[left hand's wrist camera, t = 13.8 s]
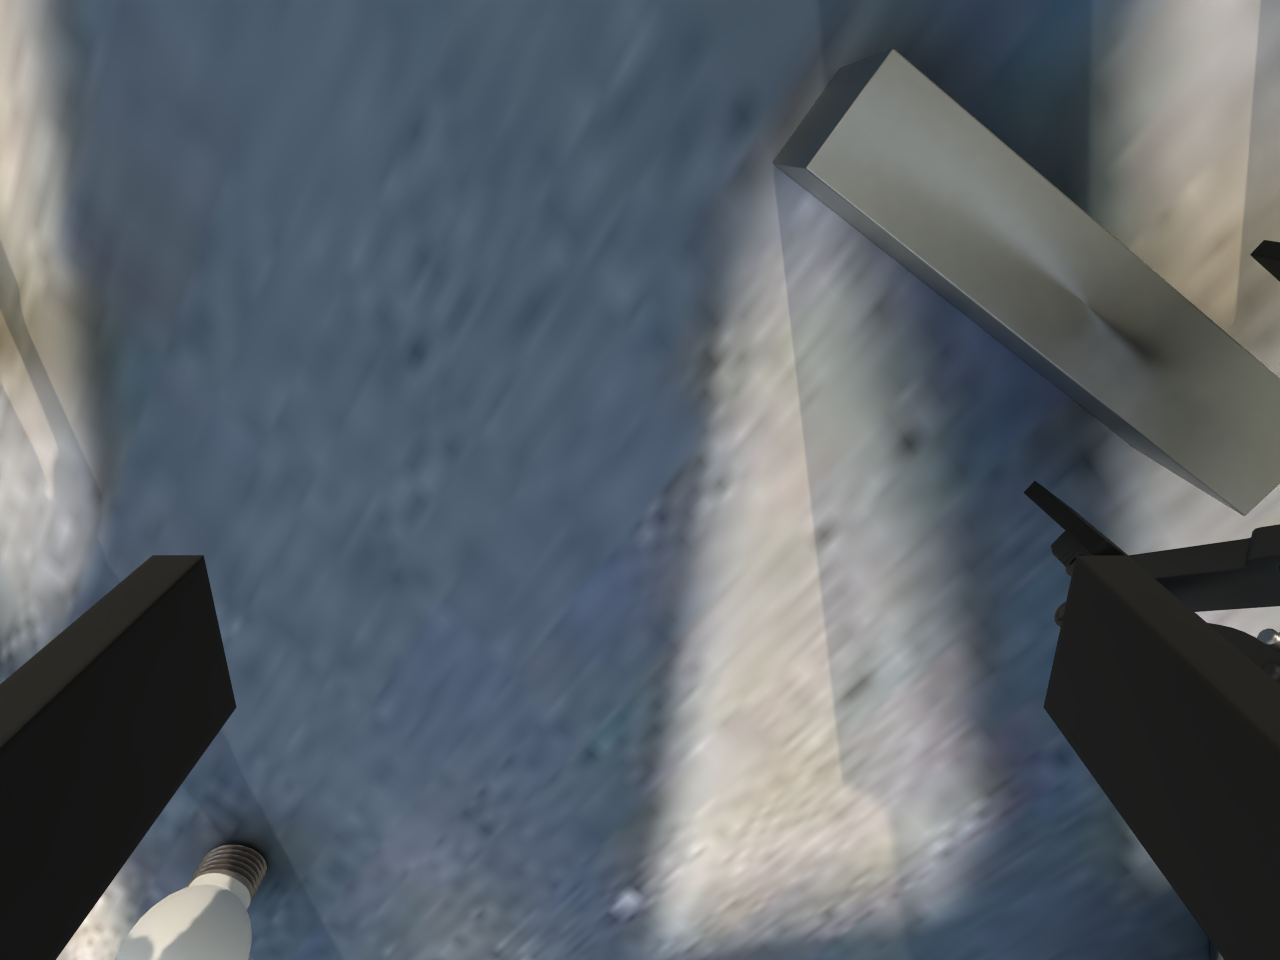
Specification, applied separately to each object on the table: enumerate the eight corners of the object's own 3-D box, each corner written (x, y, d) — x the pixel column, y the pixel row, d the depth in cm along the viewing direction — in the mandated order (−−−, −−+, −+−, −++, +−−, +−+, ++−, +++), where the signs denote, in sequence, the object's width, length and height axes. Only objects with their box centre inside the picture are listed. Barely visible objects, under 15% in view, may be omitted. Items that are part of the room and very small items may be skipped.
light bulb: (252, 813, 52) (158, 975, 42) (308, 888, 55) (232, 1059, 44) (160, 845, 53) (46, 1011, 43) (219, 917, 56) (125, 1092, 45)
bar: (771, 163, 38) (805, 168, 31) (840, 67, 37) (893, 47, 29) (1137, 450, 44) (1244, 516, 36) (1210, 376, 42) (1338, 428, 34)
